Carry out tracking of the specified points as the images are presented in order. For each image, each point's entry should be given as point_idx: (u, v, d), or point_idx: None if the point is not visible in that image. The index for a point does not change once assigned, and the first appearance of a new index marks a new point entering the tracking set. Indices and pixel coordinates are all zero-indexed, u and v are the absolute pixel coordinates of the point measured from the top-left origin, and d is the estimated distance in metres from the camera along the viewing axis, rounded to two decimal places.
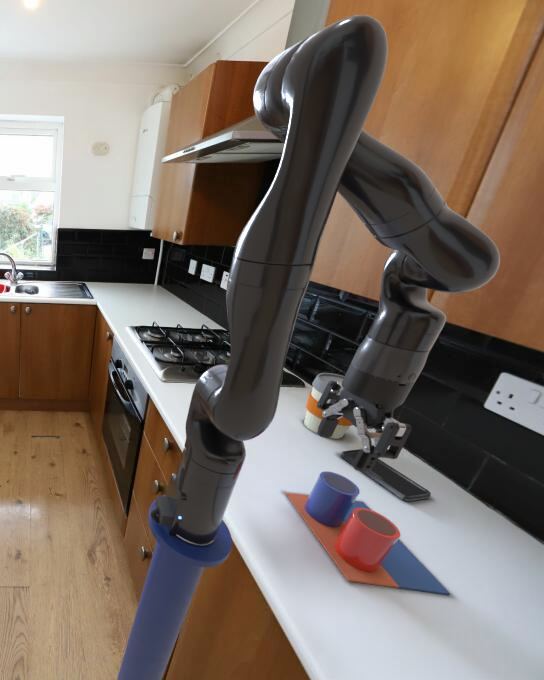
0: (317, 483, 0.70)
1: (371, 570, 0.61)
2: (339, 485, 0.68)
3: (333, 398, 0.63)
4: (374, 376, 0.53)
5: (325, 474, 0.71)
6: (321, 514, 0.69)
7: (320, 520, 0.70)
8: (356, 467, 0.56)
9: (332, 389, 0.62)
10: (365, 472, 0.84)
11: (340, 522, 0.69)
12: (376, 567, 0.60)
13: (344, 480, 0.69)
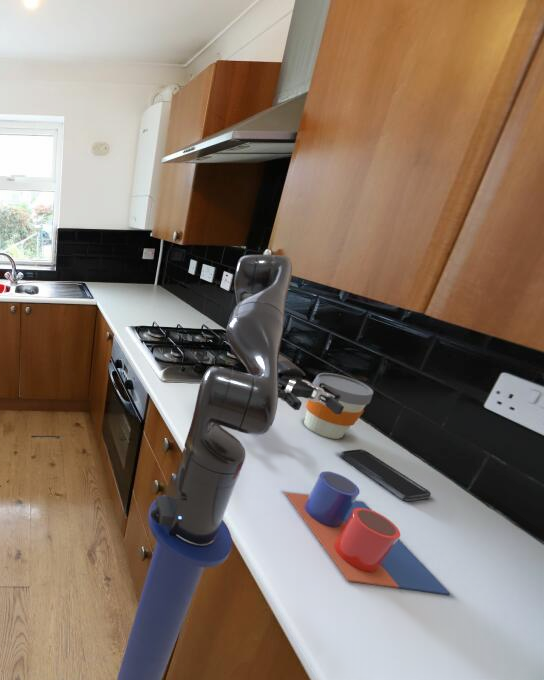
0: (317, 483, 0.70)
1: (371, 570, 0.61)
2: (339, 485, 0.68)
3: None
4: (294, 364, 0.89)
5: (325, 474, 0.71)
6: (321, 514, 0.69)
7: (320, 520, 0.70)
8: (342, 406, 0.76)
9: None
10: (365, 472, 0.84)
11: (340, 522, 0.69)
12: (376, 567, 0.60)
13: (344, 480, 0.69)
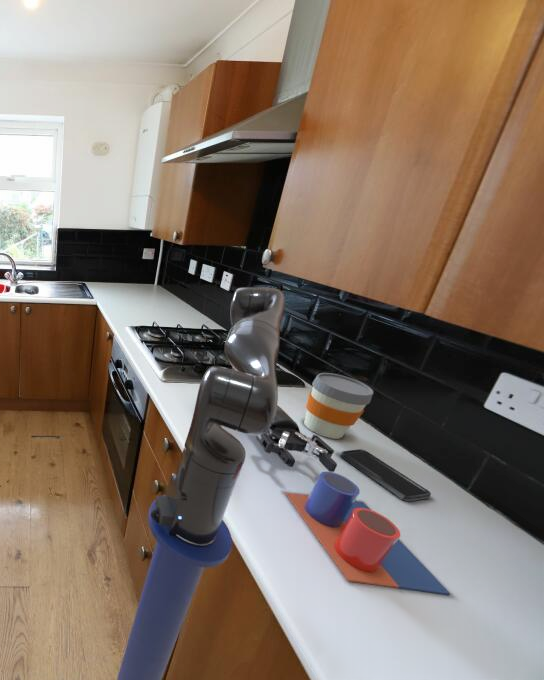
0: (317, 483, 0.70)
1: (371, 570, 0.61)
2: (339, 485, 0.68)
3: None
4: (287, 414, 0.89)
5: (325, 474, 0.71)
6: (321, 514, 0.69)
7: (320, 520, 0.70)
8: None
9: (266, 433, 0.84)
10: (365, 472, 0.84)
11: (340, 522, 0.69)
12: (376, 567, 0.60)
13: (344, 480, 0.69)
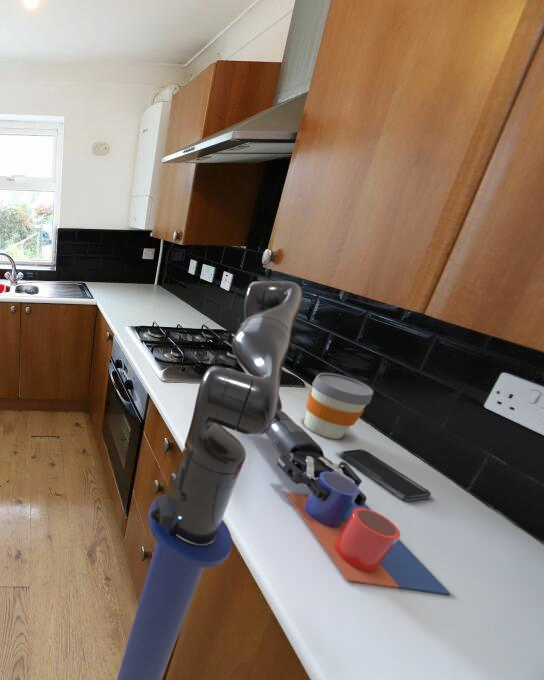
0: None
1: (371, 570, 0.61)
2: (339, 485, 0.68)
3: None
4: None
5: (325, 474, 0.71)
6: (321, 514, 0.69)
7: (320, 520, 0.70)
8: (364, 497, 0.67)
9: (289, 459, 0.76)
10: (365, 472, 0.84)
11: (340, 522, 0.69)
12: (376, 567, 0.60)
13: (344, 480, 0.69)
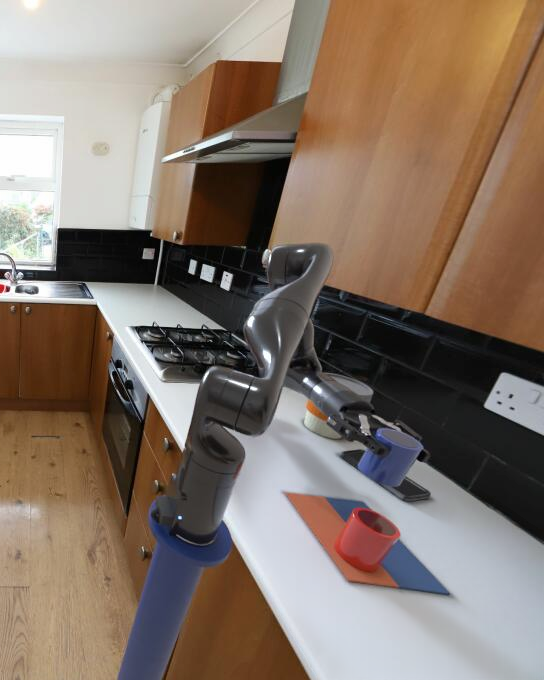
0: None
1: (371, 570, 0.61)
2: (400, 441, 0.63)
3: None
4: (358, 395, 0.76)
5: (382, 430, 0.66)
6: (379, 472, 0.65)
7: (378, 479, 0.65)
8: None
9: (340, 417, 0.71)
10: None
11: (400, 481, 0.64)
12: (376, 567, 0.60)
13: (404, 436, 0.64)
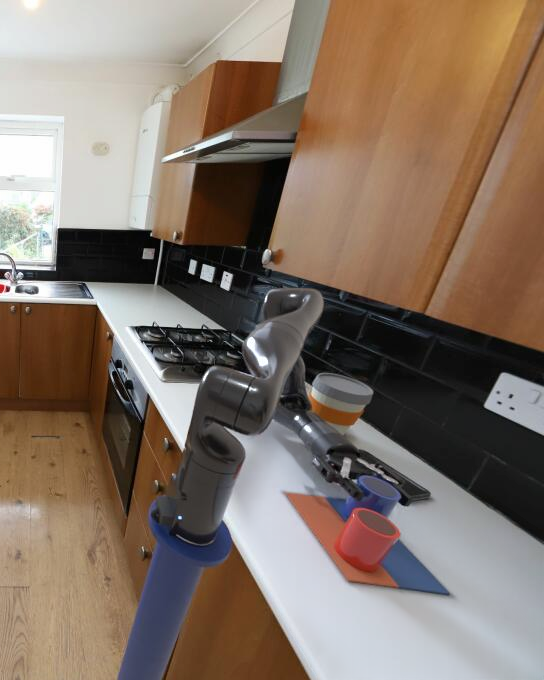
0: None
1: (371, 570, 0.61)
2: (380, 489, 0.68)
3: None
4: (344, 437, 0.80)
5: (363, 478, 0.70)
6: None
7: None
8: None
9: None
10: None
11: None
12: (376, 567, 0.60)
13: (384, 485, 0.69)
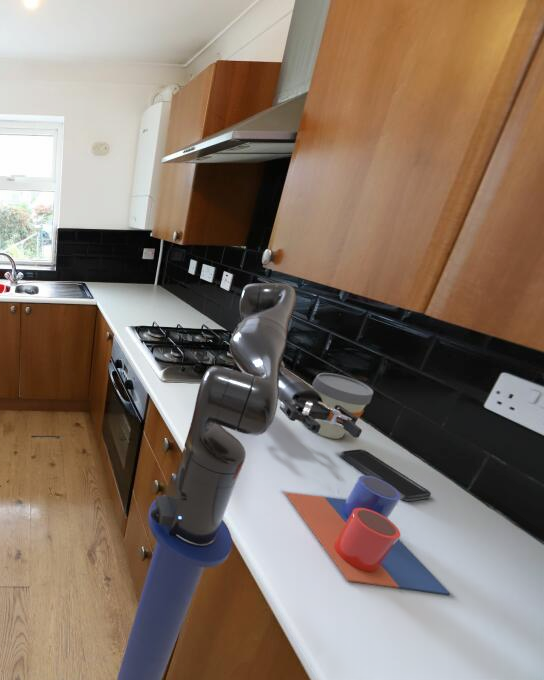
0: (356, 487, 0.70)
1: (371, 570, 0.61)
2: (380, 489, 0.68)
3: (291, 410, 0.84)
4: None
5: (363, 478, 0.70)
6: None
7: None
8: None
9: (289, 402, 0.85)
10: (365, 472, 0.84)
11: None
12: (376, 567, 0.60)
13: (384, 485, 0.69)
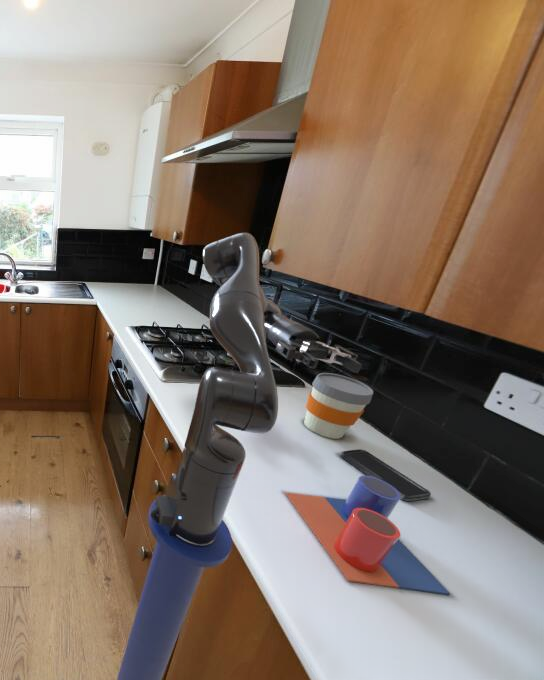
0: (356, 487, 0.70)
1: (371, 570, 0.61)
2: (380, 489, 0.68)
3: None
4: None
5: (363, 478, 0.70)
6: None
7: None
8: None
9: (286, 343, 0.81)
10: (365, 472, 0.84)
11: None
12: (376, 567, 0.60)
13: (384, 485, 0.69)
